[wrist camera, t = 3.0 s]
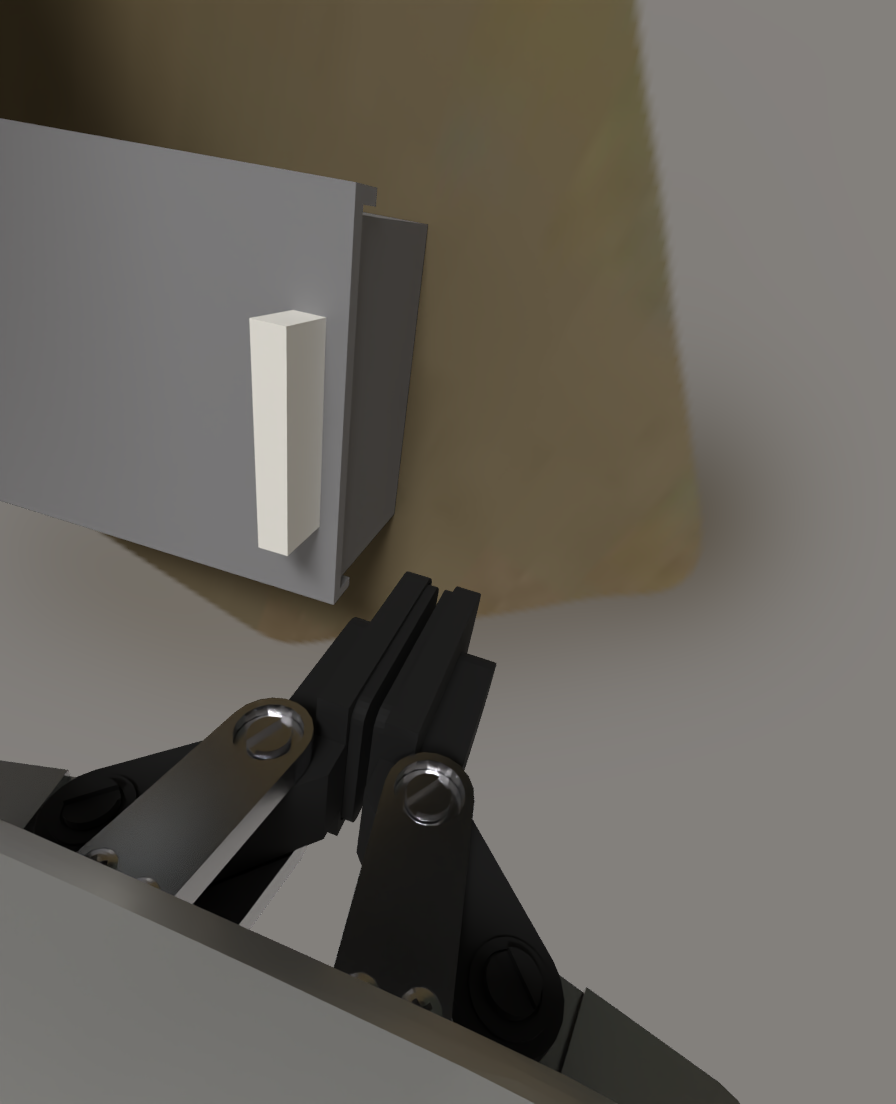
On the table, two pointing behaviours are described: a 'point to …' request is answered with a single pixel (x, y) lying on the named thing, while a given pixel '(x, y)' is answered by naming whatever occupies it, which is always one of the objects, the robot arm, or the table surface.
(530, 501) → the table surface
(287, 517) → the lid
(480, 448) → the table surface
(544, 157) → the table surface
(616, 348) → the table surface
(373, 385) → the base
